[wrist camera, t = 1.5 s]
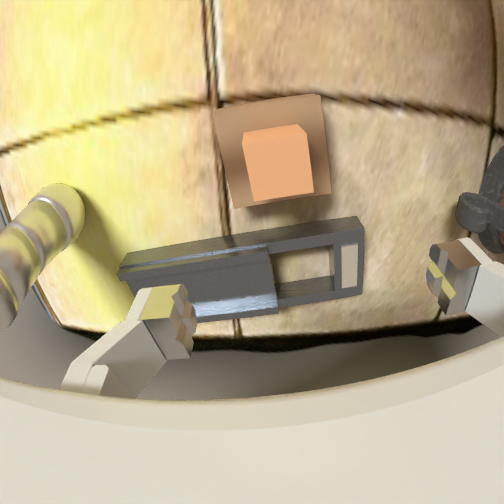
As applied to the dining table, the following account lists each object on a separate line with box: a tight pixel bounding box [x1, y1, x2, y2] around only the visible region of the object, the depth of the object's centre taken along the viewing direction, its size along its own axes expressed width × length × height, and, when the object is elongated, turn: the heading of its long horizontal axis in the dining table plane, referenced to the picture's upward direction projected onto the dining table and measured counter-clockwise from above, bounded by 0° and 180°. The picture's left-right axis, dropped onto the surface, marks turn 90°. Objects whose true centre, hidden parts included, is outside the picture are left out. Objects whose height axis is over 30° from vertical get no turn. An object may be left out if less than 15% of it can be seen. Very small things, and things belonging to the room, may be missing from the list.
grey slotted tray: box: [117, 216, 364, 323], centre depth 29 cm, size 8×24×4 cm, turn 101°
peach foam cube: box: [242, 124, 314, 202], centre depth 20 cm, size 4×4×4 cm
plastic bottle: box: [0, 183, 85, 332], centre depth 18 cm, size 6×7×20 cm
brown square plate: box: [212, 94, 331, 209], centre depth 23 cm, size 8×8×3 cm
